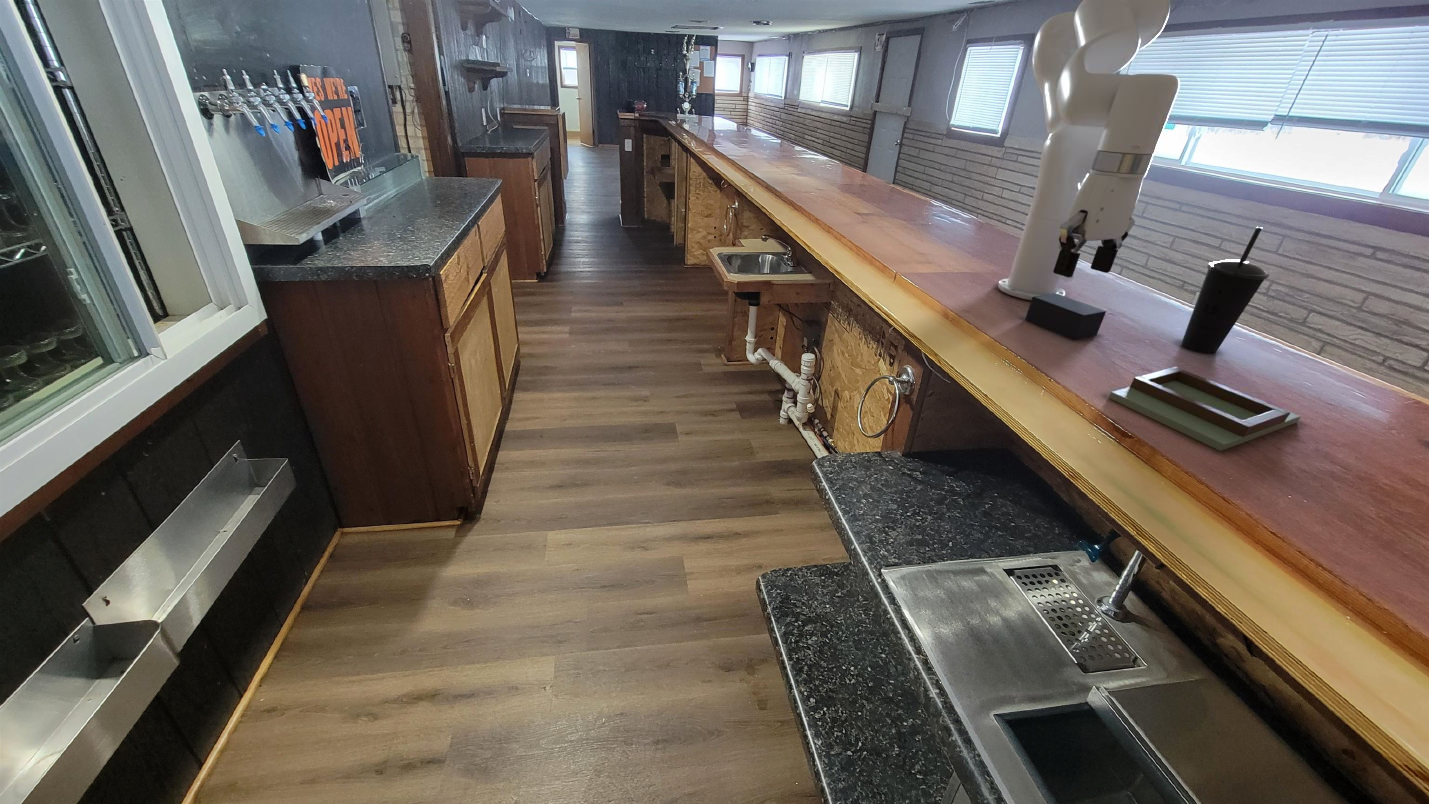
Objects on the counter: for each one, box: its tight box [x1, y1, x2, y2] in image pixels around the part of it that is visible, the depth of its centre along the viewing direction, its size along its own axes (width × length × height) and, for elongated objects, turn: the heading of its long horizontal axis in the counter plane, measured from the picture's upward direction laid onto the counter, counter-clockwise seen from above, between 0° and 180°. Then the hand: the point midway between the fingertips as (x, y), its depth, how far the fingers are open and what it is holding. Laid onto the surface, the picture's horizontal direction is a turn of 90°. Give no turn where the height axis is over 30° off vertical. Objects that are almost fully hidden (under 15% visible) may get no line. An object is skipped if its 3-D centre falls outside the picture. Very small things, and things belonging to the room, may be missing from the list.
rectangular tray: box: [1108, 366, 1302, 452], centre depth 76 cm, size 18×14×2 cm
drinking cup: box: [1180, 227, 1270, 355], centre depth 91 cm, size 8×8×20 cm
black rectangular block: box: [1024, 293, 1107, 340], centre depth 101 cm, size 10×6×4 cm, turn 25°
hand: (1081, 272), depth 96 cm, fingers open, 9 cm apart
